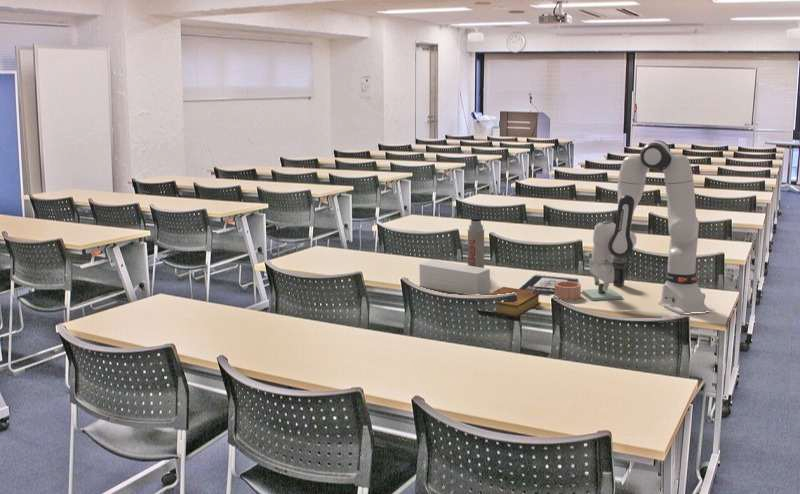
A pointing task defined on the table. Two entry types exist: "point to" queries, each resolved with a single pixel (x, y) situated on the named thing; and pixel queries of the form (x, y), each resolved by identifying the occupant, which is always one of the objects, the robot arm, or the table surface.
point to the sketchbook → (544, 284)
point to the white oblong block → (454, 277)
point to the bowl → (567, 290)
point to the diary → (517, 302)
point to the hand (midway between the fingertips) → (600, 288)
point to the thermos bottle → (476, 243)
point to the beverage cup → (619, 270)
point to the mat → (599, 300)
